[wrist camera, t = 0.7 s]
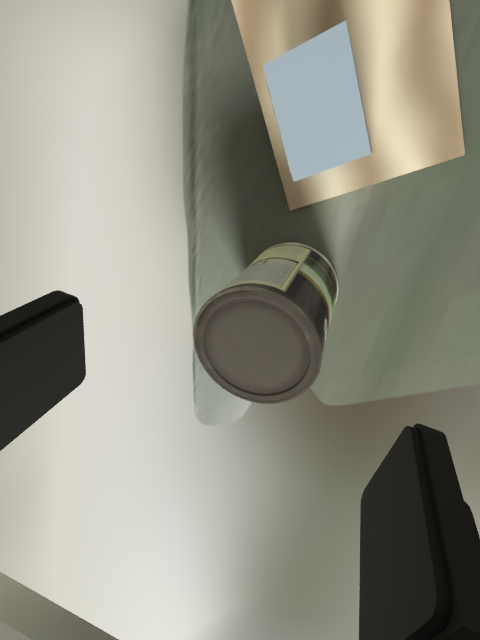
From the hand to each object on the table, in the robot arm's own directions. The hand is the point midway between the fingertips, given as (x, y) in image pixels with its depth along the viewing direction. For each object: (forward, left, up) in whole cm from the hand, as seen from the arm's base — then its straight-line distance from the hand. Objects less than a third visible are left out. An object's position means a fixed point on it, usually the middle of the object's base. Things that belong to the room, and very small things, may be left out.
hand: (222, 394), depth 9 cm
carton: (-2, -8, -27) cm, 28 cm away
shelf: (-4, -12, -28) cm, 31 cm away
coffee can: (+6, +6, -28) cm, 30 cm away
